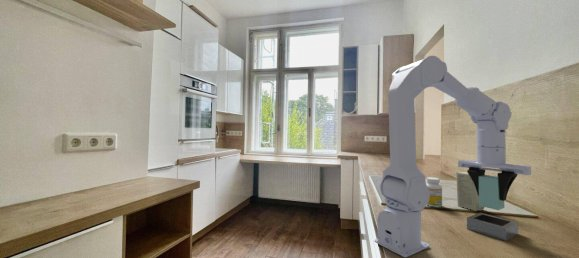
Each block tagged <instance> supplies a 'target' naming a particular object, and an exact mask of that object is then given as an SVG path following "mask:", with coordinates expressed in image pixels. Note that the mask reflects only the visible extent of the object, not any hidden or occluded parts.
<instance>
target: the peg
mask: <svg viewBox="0 0 579 258" xmlns="http://www.w3.org/2000/svg"><path fill="white" fill-rule="evenodd" d="M499 189H500V188H499V180H498V175H488V174H485V175H482V176H479V206H482V207H484V208H487V209H490V210H491V209H492V210H495V211H500V210H503V209H505V200H504V201H502V200H500V198H499Z"/></svg>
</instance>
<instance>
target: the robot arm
mask: <svg viewBox="0 0 579 258" xmlns="http://www.w3.org/2000/svg"><path fill="white" fill-rule="evenodd" d="M430 87H431V88H435V89H437V90H439V91H441V92H442V93H443V94H446V95H447V96H449V97H451V98H453V99H454V103H455V105H456V106H457V107H459V108H460V109H462V110H463V111H465V113H467V114H468V115H469V116H470V119H471V121H472V122H473V123H474V124H476V160H464V159H461V160H457V162H458V163H457V166H458V168H466V169H467V170H466V172H467V173H468V174H469V176H470V177H471V179H472V181H473V183H474V185H475V188H476V191H477V194H478V196H479V176H482V175H486V171H491V172H498V173H497V175H496V176H497V177H498V180H499V188H500V189H499V198H500V200H502V201H504V202H505V201H507V197H508V192H509V190H510V188H511V186H512V184H513V183H514V181H515V180H516V178H517V177H518V175H519V174H520V175H523V176H530V175H532V167H531V166H528V165H527V166H526V165H518V164H511V163H507V162H506V161H507V159H506V158H507V156H506V155H507V153H506V147H507V145H506V141H507V140H506V130H508V128H509V122H510V120H511V118H512V111H511V108H510V106H509V105H508V103H505V102H503V101H495V100H494V99H493V98H492V97H490V96H489V95H487V94H485V93H484V92H482V91H481V90H480V88H478V87H477V86H475V87H473V86H471V87H466V85H464V84H463V83H462V82H460V81H459V80H458V79H457V78H456V77H455V76H454V75H452V74H451V73H450V72H449V71H448V66H447V63H446V62H445V61H442V60H441V59H440V58H439V57H438V56H436V55H428V56H426V57H424V58H422V59H420V60H418V61H415V62H411V63H409V64H407V65H404V66H400V67H399V68H398V69H396V70H394V72H393V73H392V74H391V84H390V86H389V88H388V93H387V94H388V95H387V96H388V99H387V100H388V128H389V129H388V131H389V133H388V134H389V160H390V161H389V162H390V164H389V165H388V167H386V168H385V169H383V171H382V179H381V181H380V184H379V190H380V194H381V195H382V197H383V198H384V202H385V203H386V206H385V208H384V209H383V210H381V211H380V212H379V213H378V215H377V221H376V222H377V238H376V239H374V243H376V244H378V245H380V246H381V247H384V248H386V249H387V250H389V251H391V252H393V253H395V254H396V255H399V256H401V257H403V258H408V257H410V256H412V255H415V254H417V253H419V252H421V251H423V250H425V249H428V248H430V244H429V243H427V242H425V241H423V240H422V217H421V216H422V211H424V208H426V206H428V205H427V204H428V201H429V197H430V194H429V190H428V187H427V185H426V183H427V179H426V176H425V174H424V173H423V172H422V171H421V170H420V168H419V167H418V165H417V143H416V141H417V140H416V138H417V137H416V115H415V114H416V112H415V111H416V110H415V98H417V96H419V95H420V94H421V93H422V92H423V91H424V90H426V89H427V88H430Z"/></svg>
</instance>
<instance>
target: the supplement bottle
mask: <svg viewBox="0 0 579 258" xmlns="http://www.w3.org/2000/svg"><path fill="white" fill-rule="evenodd" d="M440 182H441V181H440V178H438V177H431V176H430V177H429V176H428V177H426V185H427V187H428V190H429V194H430V197H429V201H428V204H427V205H426V206H428V205H429V207H431V206H434V207H433V208H442V207H443V186H442V185H441V184H440ZM441 206H442V207H441Z"/></svg>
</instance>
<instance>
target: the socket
mask: <svg viewBox="0 0 579 258" xmlns="http://www.w3.org/2000/svg"><path fill="white" fill-rule="evenodd" d="M466 230H470V231H472V232H476V233H479V234H483V235H486V236H489V237H492V238H495V239H498V240H500V241H501V240H502V241H505V242H508V241H509V240H510V239H513V237H516V236H517V235H518V234H519V222H518V221H515V220H510V219H507V218H503V217H498V216H495V215H490V214H487V213H483V212H478V213H475V214H473V215H471V216H467V217H466Z"/></svg>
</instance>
